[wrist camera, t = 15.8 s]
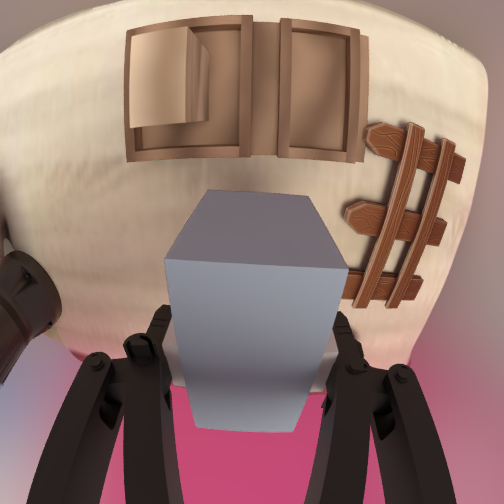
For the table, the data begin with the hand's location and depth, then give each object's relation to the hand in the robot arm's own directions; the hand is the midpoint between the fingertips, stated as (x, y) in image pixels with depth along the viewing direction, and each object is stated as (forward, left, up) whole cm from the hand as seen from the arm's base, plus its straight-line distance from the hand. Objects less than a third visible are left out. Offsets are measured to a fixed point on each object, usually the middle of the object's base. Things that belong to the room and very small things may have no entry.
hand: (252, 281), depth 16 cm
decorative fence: (+17, -1, -15) cm, 22 cm away
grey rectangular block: (0, 0, 0) cm, 0 cm away
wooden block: (-7, +12, -14) cm, 19 cm away
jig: (-1, +12, -15) cm, 19 cm away
